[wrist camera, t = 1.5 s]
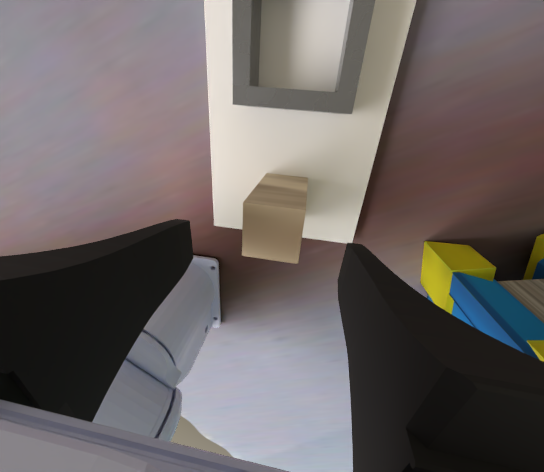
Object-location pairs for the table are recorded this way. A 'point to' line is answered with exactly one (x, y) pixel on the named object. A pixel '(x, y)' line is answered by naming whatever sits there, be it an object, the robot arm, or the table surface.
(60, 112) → the table surface
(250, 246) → the rail post
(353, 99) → the grey square frame
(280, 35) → the mounting plate
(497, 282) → the decorative book
